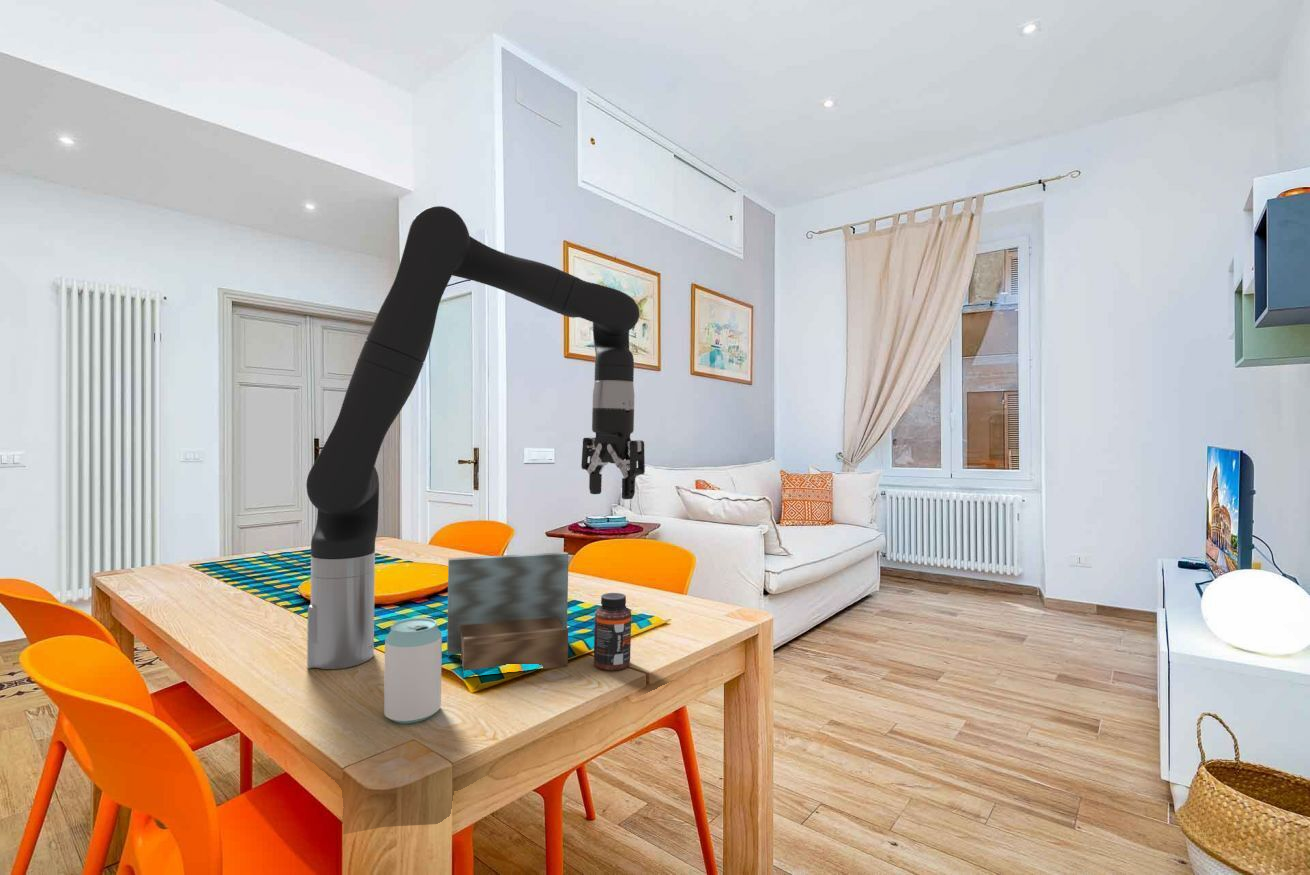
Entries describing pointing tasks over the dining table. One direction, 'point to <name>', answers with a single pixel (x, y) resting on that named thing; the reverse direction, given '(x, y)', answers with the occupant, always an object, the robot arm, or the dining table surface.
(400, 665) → the can
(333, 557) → the robot arm
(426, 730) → the dining table surface
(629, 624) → the supplement bottle
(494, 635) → the wall board
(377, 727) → the dining table surface
